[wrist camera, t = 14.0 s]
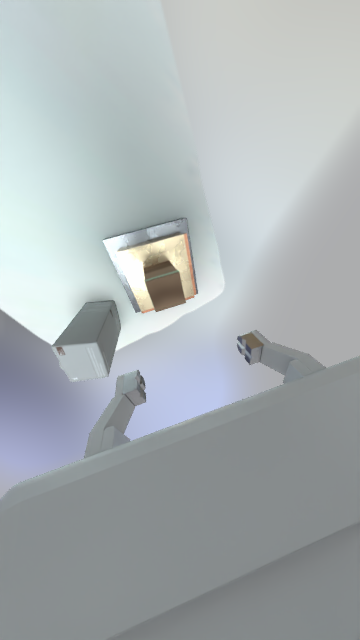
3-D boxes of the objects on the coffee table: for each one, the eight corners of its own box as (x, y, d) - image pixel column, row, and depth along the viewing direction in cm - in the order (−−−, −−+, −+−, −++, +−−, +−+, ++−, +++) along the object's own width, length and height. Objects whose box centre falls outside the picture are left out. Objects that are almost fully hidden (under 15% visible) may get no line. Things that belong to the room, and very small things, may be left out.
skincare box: (121, 327, 40) (114, 378, 27) (92, 330, 38) (69, 386, 26) (114, 298, 35) (101, 343, 22) (80, 300, 34) (46, 350, 21)
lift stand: (104, 239, 29) (97, 243, 24) (183, 218, 30) (192, 217, 25) (135, 308, 38) (135, 321, 33) (195, 290, 39) (203, 300, 34)
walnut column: (142, 267, 27) (144, 282, 21) (169, 259, 28) (179, 271, 21) (151, 293, 30) (155, 312, 24) (176, 285, 31) (186, 303, 24)
